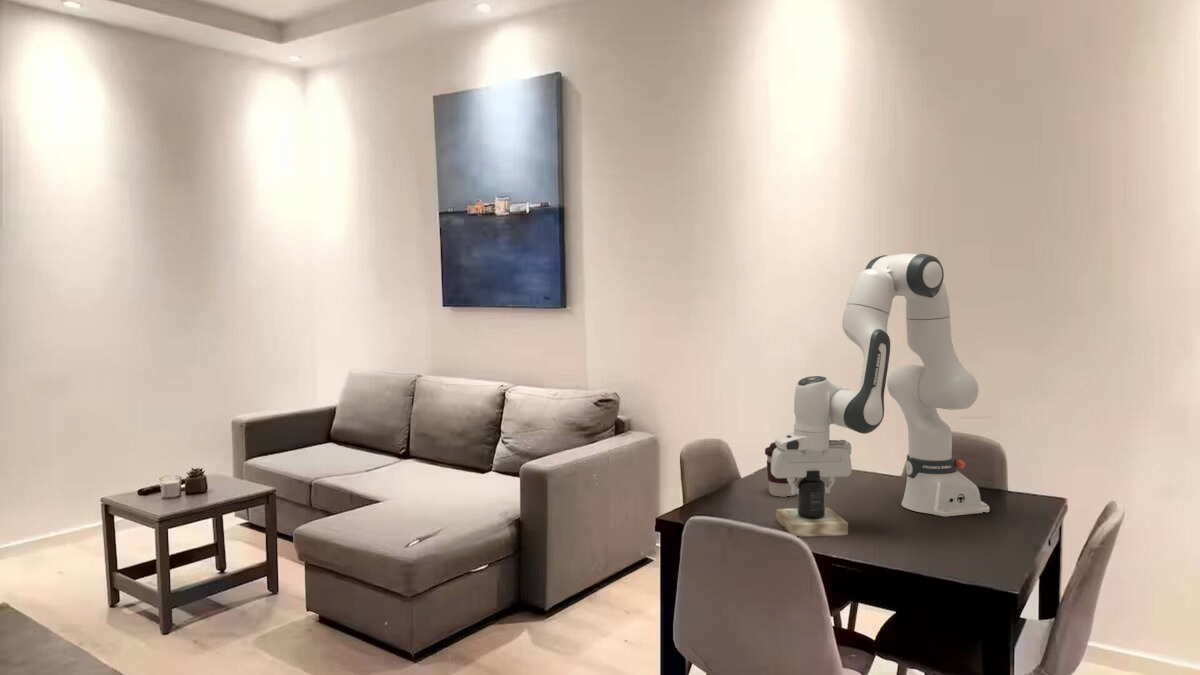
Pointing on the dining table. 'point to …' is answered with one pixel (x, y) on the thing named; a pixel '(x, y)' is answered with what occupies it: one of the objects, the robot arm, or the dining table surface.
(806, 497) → the supplement bottle
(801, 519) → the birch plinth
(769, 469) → the coffee cup
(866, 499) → the dining table surface
